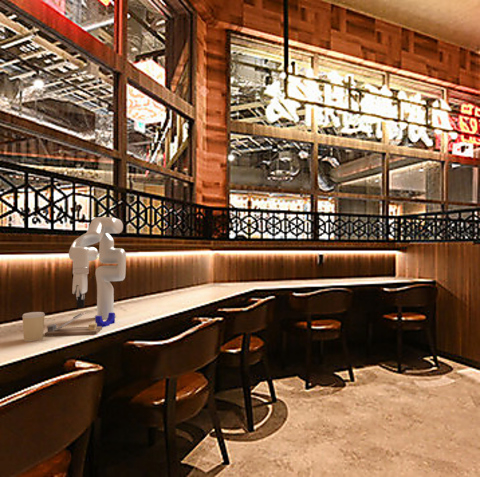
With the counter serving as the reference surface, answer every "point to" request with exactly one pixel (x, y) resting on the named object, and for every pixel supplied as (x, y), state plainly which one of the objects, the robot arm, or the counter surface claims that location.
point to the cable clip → (109, 320)
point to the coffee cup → (33, 326)
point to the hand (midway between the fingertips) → (80, 307)
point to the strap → (70, 320)
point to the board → (73, 330)
